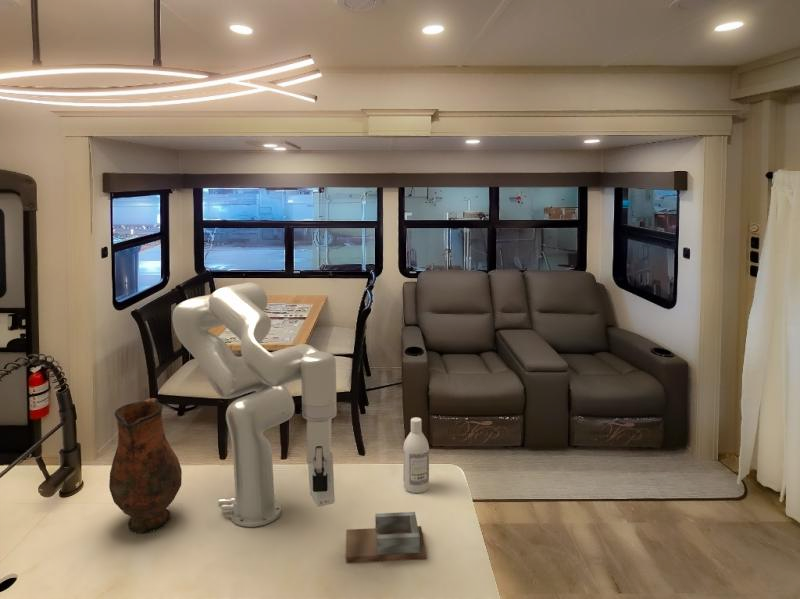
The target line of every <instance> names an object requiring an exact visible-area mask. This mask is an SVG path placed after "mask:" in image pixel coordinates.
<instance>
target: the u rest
mask: <svg viewBox="0 0 800 599" xmlns="http://www.w3.org/2000/svg"><path fill="white" fill-rule="evenodd" d="M374 519H375V521H374V522H375V527H374V528H373V527H372V528H351V529H345V532H346V534H345V536H346V537H345V563H346V564H354V563H355V564H356V563H376V562H394V561H411V560H412V561H414V560H415V561H416V560H427V549H426V545H425V539H424V534H423V529H422V526H421V525H418V521H417V520H418V519H417V516H416V511H403V512H401V511H400V512H380V513H375V518H374Z"/></svg>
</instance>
